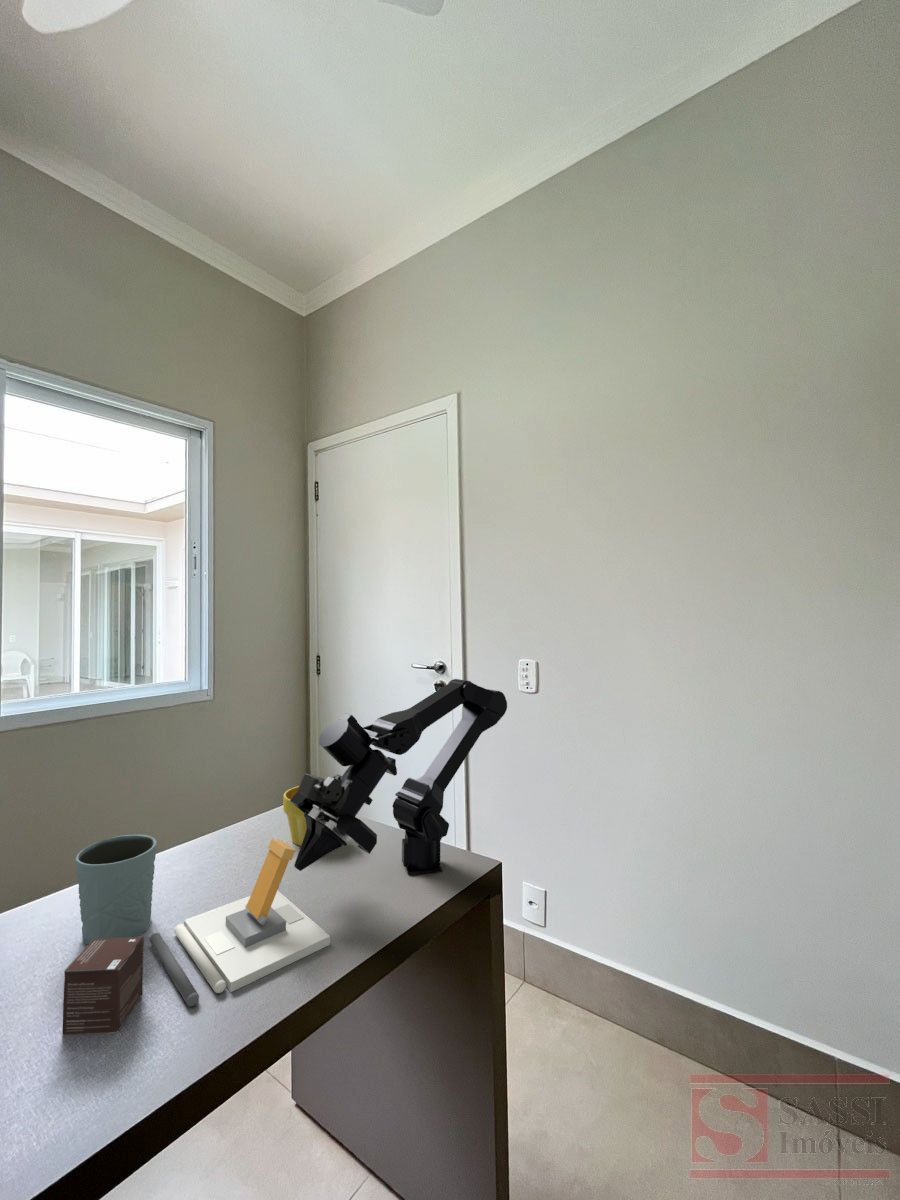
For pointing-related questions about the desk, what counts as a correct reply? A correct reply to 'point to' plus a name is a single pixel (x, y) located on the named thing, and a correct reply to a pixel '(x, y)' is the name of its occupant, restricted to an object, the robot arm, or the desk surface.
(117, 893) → the grey-green cup
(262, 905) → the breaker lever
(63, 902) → the desk surface
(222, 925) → the breaker panel
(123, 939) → the box
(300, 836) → the plant pot
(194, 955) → the rods
